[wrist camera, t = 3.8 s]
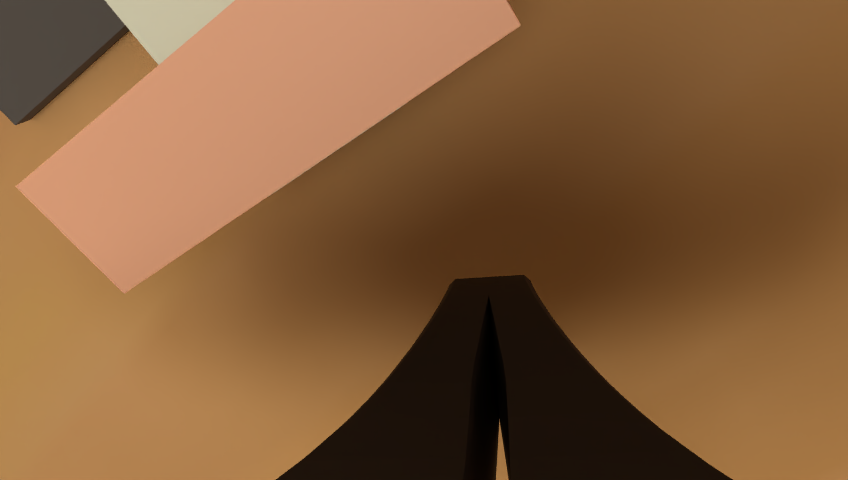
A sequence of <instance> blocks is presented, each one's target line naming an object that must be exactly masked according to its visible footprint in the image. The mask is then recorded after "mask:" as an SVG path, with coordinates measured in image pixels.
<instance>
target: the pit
mask: <svg viewBox="0 0 848 480" xmlns="http://www.w3.org/2000/svg"><path fill="white" fill-rule="evenodd" d="M128 31H129V29H128V28H127V26H126V25H125V24H124V23H123V22H122V20H121V19H120V18H119V17H118V16H117V14H116V13H115V12H114V11H113V10H112V8H111V7H110V6H109V5H108V4H107V2H106V1H105V0H0V110H1V111H2V112H3V113H4V114H5V115H6V116H7V117H8V118H9V119H10V120H11V121H12V122H13V123H14V124H15V125H17V124H20V123H23V122H25V121H28V120H30V119H31V118H32V117H33V116H34V115H36V114H37V113H38V112H39V111H40V110H41V109H42V108H43V107H44V106H46V105H47V104H48V103H49V102H50V101H51V100H52V99H53V98H54V97H56V96H57V95H58V94H59V93H60V92H61V91H62V90H63V89H64V88H66V87H67V86H68V85H69V84H70V83H71V82H72V81H73V80H74V79H76V78H77V77H78V76H79V75H80V74H81V73H82V72H83V71H84V70H86V69H87V68H88V67H89V66H90V65H91V64H92V63H93V62H94V61H96V60H97V59H98V58H99V57H100V56H101V55H102V54H103V53H104V52H106V51H107V50H108V49H109V48H110V47H111V46H112V45H113V44H115V43H116V42H117V41H118V40H119V39H120V38H121V37H122V36H123V35H125V34H126V33H127V32H128Z"/></svg>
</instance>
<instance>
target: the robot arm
mask: <svg viewBox="0 0 848 480" xmlns="http://www.w3.org/2000/svg"><path fill="white" fill-rule="evenodd" d="M499 418H500V425H501V432H502V438H503V445H504V451H505V458H506V465H507V471H508V478H509V480H732V479H731V478H729V477H728V476H726V475H724V474H723V473H721V472H720V471H718V470H717V469H715V468H714V467H712V466H711V465H709V464H708V463H707V462H705V461H704V460H702V459H701V458H700V457H698V456H697V455H696V454H694V453H693V452H691V451H690V450H689V449H687V448H686V447H685V446H683V445H682V444H680V443H679V442H678V441H676V440H675V439H674V438H672V437H671V436H670V435H668V434H667V433H665V432H664V431H663V430H661V429H660V428H659V427H658V426H657V425H655V424H654V423H653V422H652V421H651V420H649V419H648V418H647V417H646V416H645V415H643V414H642V413H641V412H640V411H639V410H637V409H636V408H635V407H634V406H633V405H632V404H631V403H630V402H629V401H628V400H626V399H625V398H624V397H623V396H622V395H621V394H620V393H619V392H618V391H617V390H616V389H615V388H614V387H612V386H611V385H610V384H609V383H608V382H607V381H606V380H605V379H604V378H603V377H602V376H601V375H600V374H599V372H598V371H597V370H596V369H595V368H594V367H593V366H592V365H591V364H590V363H589V362H588V361H587V359H586V358H585V357H584V356H583V355H582V354H581V353H580V352H579V350H578V349H577V348H576V347H575V346H574V345H573V343H572V342H571V341H570V340H569V338H568V337H567V336H566V335H565V333H564V332H563V331H562V329H561V328H560V327H559V326H558V324H557V323H556V322H555V320H554V319H553V318H552V316H551V315H550V313H549V312H548V311H547V309H546V308H545V306H544V305H543V303H542V302H541V300H540V298H539V297H538V295H537V293H536V291H535V290H534V288H533V286H532V284H531V281H530V280H529V279H528V278H527V277H526V276H524V275H515V276H499V277H483V278H467V279H455V280H454V281H453V282H452V283H451V284H450V286H449V288H448V290H447V292H446V294H445V295H444V297H443V299H442V301H441V303H440V304H439V306H438V308H437V309H436V311H435V313H434V314H433V316H432V318H431V319H430V321H429V322H428V324H427V325H426V327H425V328H424V330H423V331H422V333H421V334H420V336H419V337H418V339H417V340H416V341H415V343H414V344H413V346H412V347H411V348H410V350H409V351H408V352H407V354H406V355H405V356H404V357H403V359H402V360H401V361H400V363H399V364H398V365H397V366H396V368H395V369H394V370H393V371H392V373H391V374H390V375H389V377H388V378H387V379H386V380H385V381H384V382H383V384H382V385H381V386H380V387H379V388H378V389H377V390H376V391H375V393H374V394H373V395H372V396H371V397H370V398H369V399H368V400H367V401H366V402H365V403H364V404H363V405H362V406H361V407H360V408H359V409H358V410H357V411H356V412H355V413H354V415H353V416H351V417H350V418H349V419H348V420H347V421H346V422H345V423H344V424H343V425H342V426H341V427H340V428H339V429H338V430H336V431H335V432H334V433H333V434H332V435H331V436H329V437H328V438H327V439H326V440H325V441H324V442H323V443H321V444H320V445H319V446H318V447H317V448H316V449H314V450H313V451H312V452H311V453H310V454H309V455H307V456H306V457H305V458H304V459H302V460H301V461H300V462H299V463H297V464H296V465H295V466H293V467H292V468H291V469H289V470H288V471H287V472H285V473H284V474H283V475H281V476H280V477H279V478H277V479H276V480H496V466H497V450H498V433H499Z"/></svg>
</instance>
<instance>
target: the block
mask: <svg viewBox="0 0 848 480" xmlns="http://www.w3.org/2000/svg"><path fill="white" fill-rule="evenodd" d="M105 1H106V2H107V4H108V5H109V6H110V7H111V8H112V10H113V11H114V12H115V13H116V14H117V16H118V17H119V18H120V19H121V20H122V22H123V23H124V24H125V25H126V26H127V28H128V29H129V30H130V31H131V32H132V34H133V35H134V36H135V37H136V38H137V40H138V41H139V42H140V43H141V44H142V46H143V47H144V48H145V49H146V50H147V52H148V53H149V54H150V55H151V56H152V58H153V59H154V60H155V61H156V62H157V64H158V66H157V67H156V68H155V69H153V70H152V71H151V72H150V73H149V74H148V75H146V76H145V77H144V78H143V79H142V80H140V81H139V82H138V83H137V84H136V85H135V86H133V87H132V88H131V89H130V90H129V91H128V92H126V93H125V94H124V95H123V96H122V97H120V98H119V99H118V100H117V101H116V102H115V103H113V104H112V105H111V106H110V107H109V108H107V109H106V110H105V111H104V112H103V113H102V114H100V115H99V116H98V117H97V118H96V119H94V120H93V121H92V122H91V123H90V124H89V125H87V126H86V127H85V128H84V129H83V130H82V131H80V132H79V133H78V134H77V135H76V136H74V137H73V138H72V139H71V140H70V141H69V142H67V143H66V144H65V145H64V146H63V147H61V148H60V149H59V150H58V151H57V152H56V153H54V154H53V155H52V156H51V157H50V158H49V159H47V160H46V161H45V162H44V163H43V164H41V165H40V166H39V167H38V168H37V169H36V170H34V171H33V172H32V173H31V174H30V175H28V176H27V177H26V178H25V179H24V180H23V181H21V182H20V183H19V184H18V185H17V186H16V187H17V188H18V189H19V190H20V191H21V192H22V193H23V194H24V195H25V196H26V197H27V198H28V199H29V200H30V201H31V202H32V203H33V204H34V205H35V206H36V207H37V208H38V209H39V210H40V211H41V212H42V213H43V214H44V215H45V216H46V217H47V218H48V219H49V220H50V221H51V222H52V223H53V224H54V225H55V226H56V227H57V228H58V229H59V230H60V231H61V232H62V233H63V234H64V235H65V236H66V237H67V238H68V239H69V240H70V241H71V242H72V243H73V244H74V245H75V246H76V247H77V248H78V249H79V250H80V251H81V252H82V253H83V254H84V255H85V256H86V257H87V258H88V259H89V260H90V261H91V262H92V263H93V264H94V265H96V266H97V267H98V268H99V269H100V270H101V271H102V272H103V273H104V274H105V275H106V276H107V277H108V278H109V279H110V280H111V281H112V282H113V283H114V284H115V285H116V286H117V287H118V288H119V289H120V290H121V291H122V292H123V293H126V292H127V291H129V290H130V289H132V288H133V287H135V286H136V285H138V284H139V283H141V282H142V281H144V280H145V279H147V278H148V277H150V276H151V275H152V274H154V273H155V272H157V271H158V270H160V269H161V268H163V267H164V266H166V265H167V264H169V263H170V262H172V261H173V260H175V259H176V258H178V257H179V256H181V255H182V254H184V253H185V252H186V251H188V250H189V249H191V248H192V247H194V246H195V245H197V244H198V243H200V242H201V241H203V240H204V239H206V238H207V237H209V236H210V235H212V234H213V233H215V232H216V231H218V230H219V229H220V228H222V227H223V226H225V225H226V224H228V223H229V222H231V221H232V220H234V219H235V218H237V217H238V216H240V215H241V214H243V213H244V212H246V211H247V210H249V209H250V208H252V207H253V206H255V205H256V204H257V203H259V202H260V201H262V200H263V199H265V198H266V197H268V196H270V195H271V194H273V193H274V192H276V191H277V190H279V189H280V188H282V187H283V186H285V185H286V184H288V183H289V182H291V181H292V180H294V179H295V178H297V177H298V176H299V175H301V174H302V173H304V172H305V171H307V170H308V169H310V168H311V167H313V166H314V165H316V164H317V163H319V162H320V161H322V160H323V159H325V158H326V157H328V156H329V155H331V154H332V153H334V152H335V151H336V150H338V149H339V148H341V147H342V146H344V145H345V144H347V143H348V142H350V141H351V140H353V139H354V138H356V137H357V136H359V135H360V134H362V133H363V132H365V131H366V130H368V129H369V128H370V127H372V126H373V125H375V124H376V123H378V122H379V121H381V120H382V119H384V118H385V117H387V116H388V115H390V114H391V113H393V112H394V111H396V110H397V109H399V108H400V107H402V106H403V105H405V104H406V103H407V102H408V101H410V100H411V99H413V98H414V97H416V96H417V95H419V94H420V93H422V92H423V91H425V90H426V89H428V88H429V87H430V86H432V85H433V84H435V83H436V82H438V81H439V80H441V79H442V78H444V77H445V76H447V75H448V74H450V73H451V72H453V71H454V70H456V69H457V68H459V67H460V66H462V65H463V64H465V63H466V62H467V61H469V60H470V59H472V58H473V57H475V56H476V55H478V54H479V53H481V52H482V51H484V50H485V49H487V48H488V47H490V46H491V45H493V44H494V43H496V42H497V41H499V40H500V39H501V38H503V37H504V36H506V35H507V34H509V33H510V32H512V31H513V30H515V29H516V28H518V27H519V26H521V24H520V23H519V21H518V19H517V17H516V15H515V13H514V11H513V9H512V7H511V5H510V3H509V1H508V0H105Z"/></svg>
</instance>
